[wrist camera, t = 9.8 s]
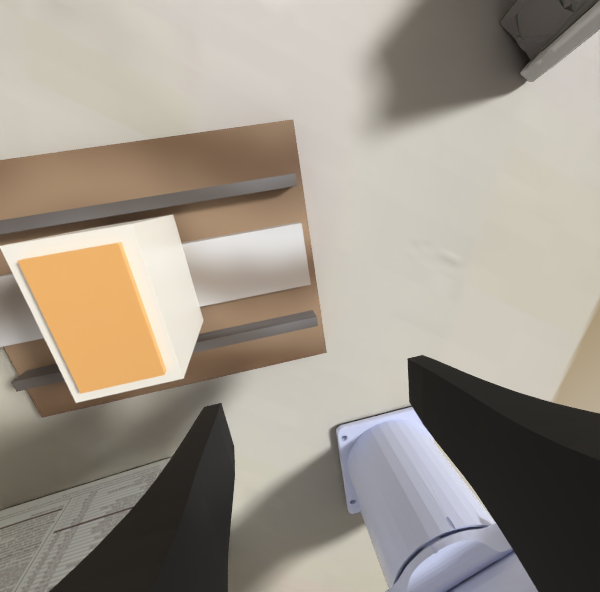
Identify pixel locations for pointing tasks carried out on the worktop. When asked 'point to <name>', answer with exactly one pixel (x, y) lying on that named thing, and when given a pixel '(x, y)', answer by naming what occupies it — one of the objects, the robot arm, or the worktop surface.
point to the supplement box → (65, 528)
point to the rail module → (111, 304)
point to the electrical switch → (550, 30)
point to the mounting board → (194, 237)
